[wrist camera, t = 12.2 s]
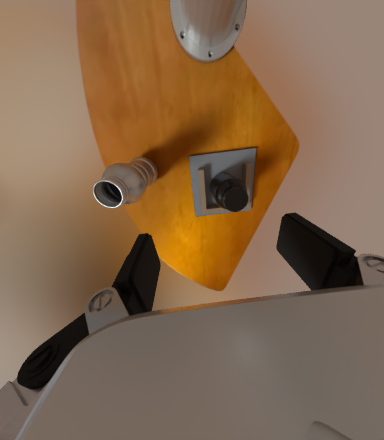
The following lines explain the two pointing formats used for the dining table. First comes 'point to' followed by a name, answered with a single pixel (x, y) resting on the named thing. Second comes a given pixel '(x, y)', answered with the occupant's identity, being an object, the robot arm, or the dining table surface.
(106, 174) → the plastic bottle
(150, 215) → the dining table surface
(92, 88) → the dining table surface
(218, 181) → the supplement bottle
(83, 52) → the dining table surface
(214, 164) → the bottle stand
